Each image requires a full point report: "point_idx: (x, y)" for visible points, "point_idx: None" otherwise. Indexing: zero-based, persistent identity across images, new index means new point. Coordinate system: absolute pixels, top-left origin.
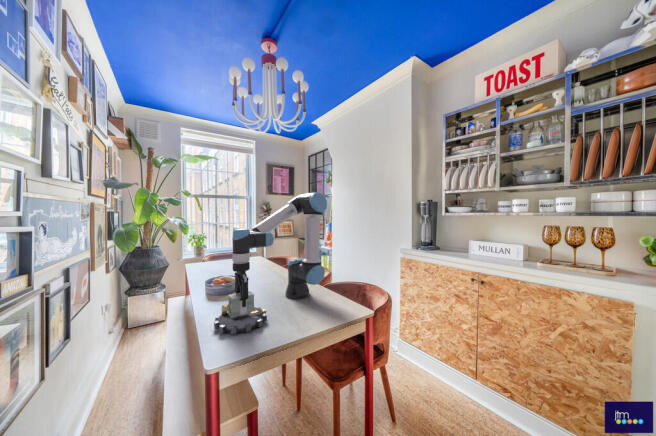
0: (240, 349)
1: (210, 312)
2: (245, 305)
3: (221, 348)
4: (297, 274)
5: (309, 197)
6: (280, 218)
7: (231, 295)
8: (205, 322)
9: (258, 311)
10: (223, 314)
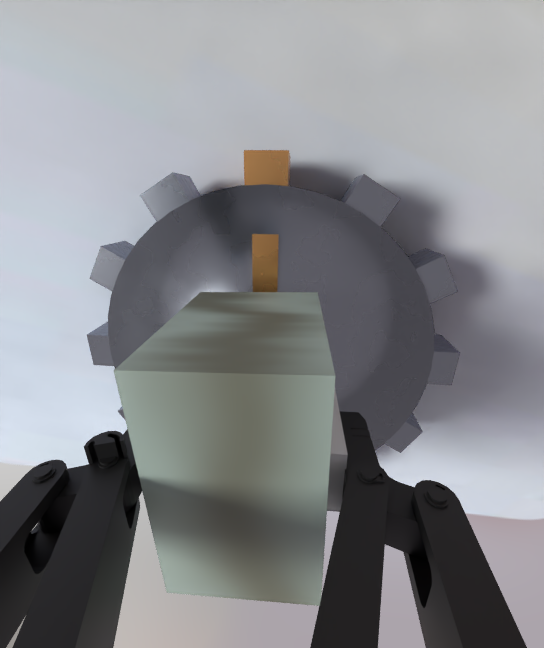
0: (540, 415)
1: (28, 423)
2: (366, 427)
3: (456, 467)
4: None
5: None
6: None
7: (198, 579)
8: None
9: (272, 227)
10: None
